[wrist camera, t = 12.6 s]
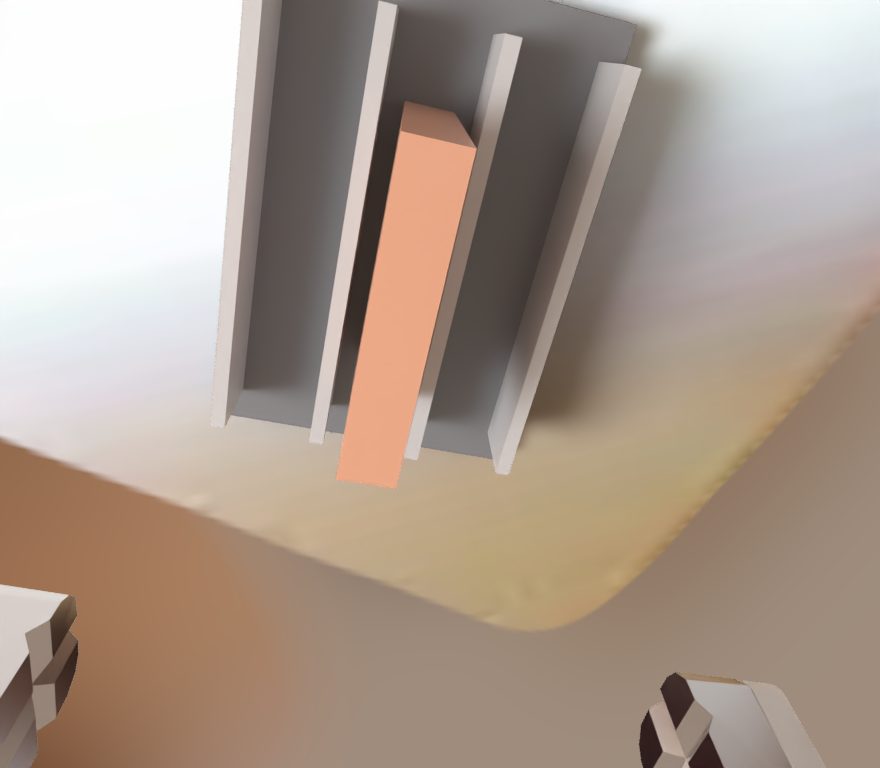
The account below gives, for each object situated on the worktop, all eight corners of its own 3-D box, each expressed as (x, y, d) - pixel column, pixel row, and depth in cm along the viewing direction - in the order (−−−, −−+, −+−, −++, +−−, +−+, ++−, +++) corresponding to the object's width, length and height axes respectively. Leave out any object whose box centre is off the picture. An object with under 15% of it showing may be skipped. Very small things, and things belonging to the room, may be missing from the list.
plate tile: (404, 100, 26) (400, 130, 17) (454, 112, 26) (476, 148, 17) (358, 352, 30) (335, 479, 22) (400, 359, 31) (395, 488, 22)
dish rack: (266, -72, 24) (236, -96, 20) (627, 25, 26) (669, 22, 22) (225, 401, 33) (198, 453, 29) (496, 447, 35) (508, 502, 30)
